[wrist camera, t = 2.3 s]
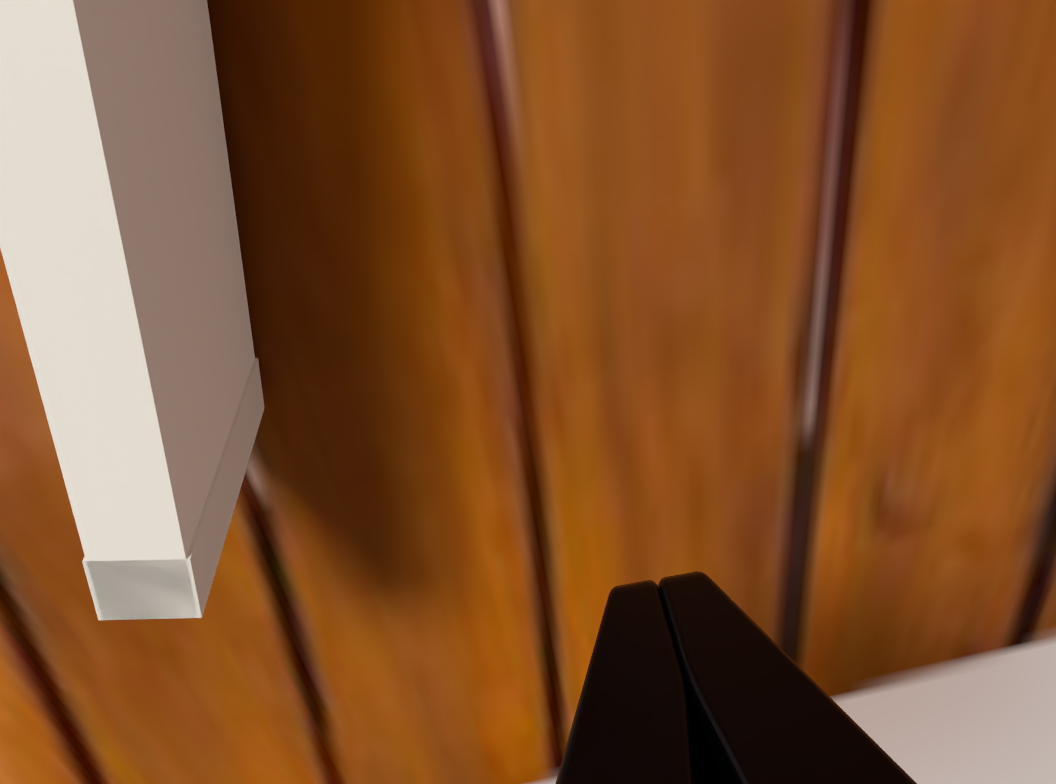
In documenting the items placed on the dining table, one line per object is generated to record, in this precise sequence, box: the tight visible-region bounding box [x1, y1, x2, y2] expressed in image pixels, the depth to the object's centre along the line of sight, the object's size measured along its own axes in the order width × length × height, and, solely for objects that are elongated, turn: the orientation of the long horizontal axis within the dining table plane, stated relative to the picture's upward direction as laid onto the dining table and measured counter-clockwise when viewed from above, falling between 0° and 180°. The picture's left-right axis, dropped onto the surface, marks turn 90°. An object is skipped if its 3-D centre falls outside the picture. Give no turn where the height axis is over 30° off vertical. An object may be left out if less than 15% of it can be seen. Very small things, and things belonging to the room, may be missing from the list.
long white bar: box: [0, 0, 265, 620], centre depth 12 cm, size 12×1×5 cm, turn 178°
